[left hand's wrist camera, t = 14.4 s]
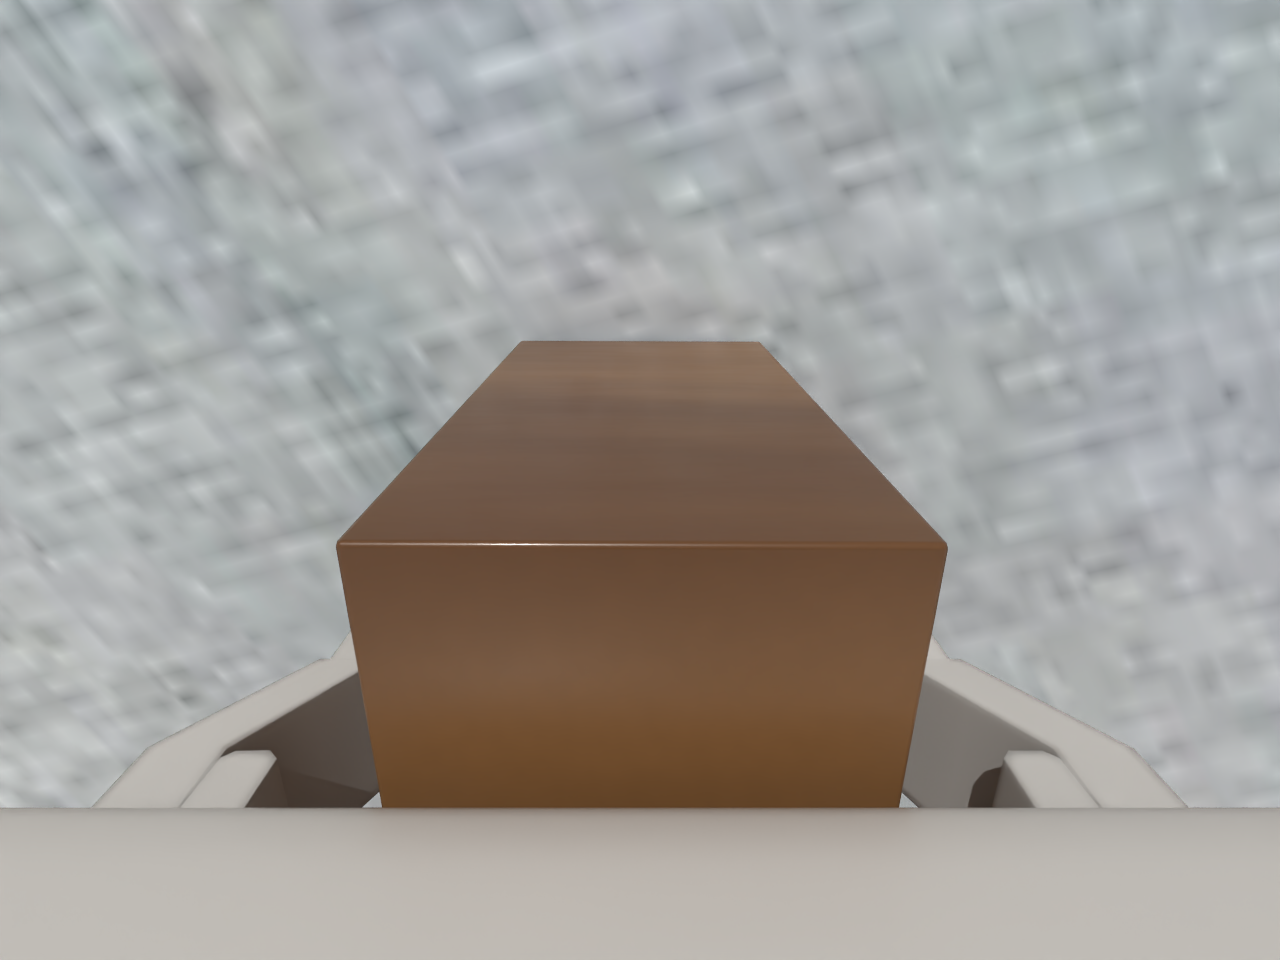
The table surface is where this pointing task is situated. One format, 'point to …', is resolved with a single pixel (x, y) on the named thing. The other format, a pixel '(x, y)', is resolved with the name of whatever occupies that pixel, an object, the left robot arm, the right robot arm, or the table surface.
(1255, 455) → the table surface
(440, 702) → the bar
